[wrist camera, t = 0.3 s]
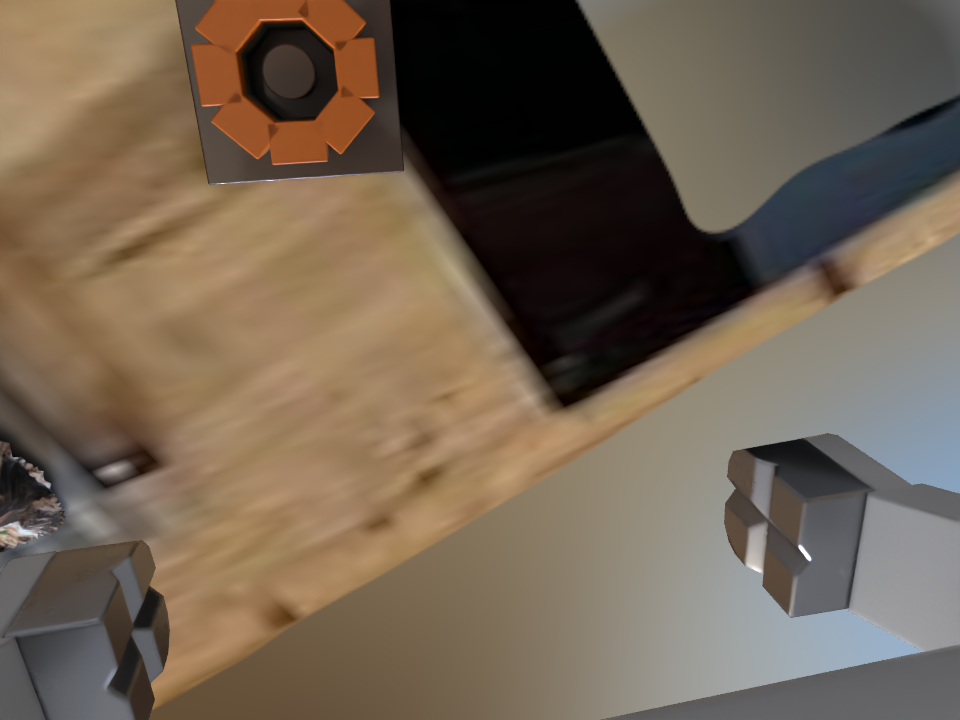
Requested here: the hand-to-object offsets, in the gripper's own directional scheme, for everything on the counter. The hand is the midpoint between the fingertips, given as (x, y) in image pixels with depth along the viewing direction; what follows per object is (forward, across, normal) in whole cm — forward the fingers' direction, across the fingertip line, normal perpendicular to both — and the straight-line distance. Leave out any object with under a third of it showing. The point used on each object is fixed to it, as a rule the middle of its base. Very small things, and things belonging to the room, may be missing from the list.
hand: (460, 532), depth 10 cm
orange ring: (+23, +3, -7) cm, 24 cm away
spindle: (+28, +3, -7) cm, 29 cm away
